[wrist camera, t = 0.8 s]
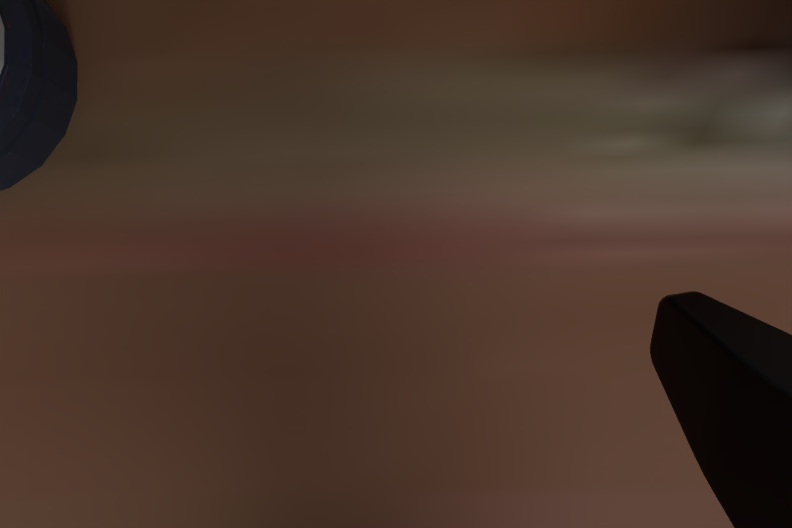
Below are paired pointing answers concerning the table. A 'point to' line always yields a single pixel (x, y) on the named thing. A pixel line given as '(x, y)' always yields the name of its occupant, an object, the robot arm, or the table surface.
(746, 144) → the table surface
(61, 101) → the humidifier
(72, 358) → the table surface
